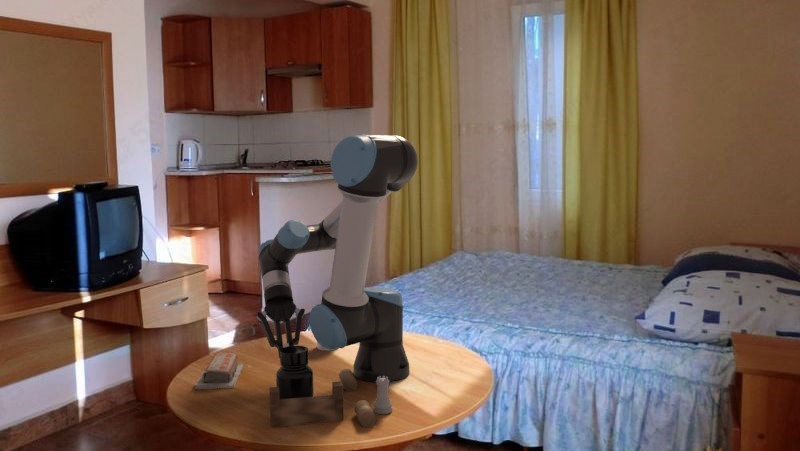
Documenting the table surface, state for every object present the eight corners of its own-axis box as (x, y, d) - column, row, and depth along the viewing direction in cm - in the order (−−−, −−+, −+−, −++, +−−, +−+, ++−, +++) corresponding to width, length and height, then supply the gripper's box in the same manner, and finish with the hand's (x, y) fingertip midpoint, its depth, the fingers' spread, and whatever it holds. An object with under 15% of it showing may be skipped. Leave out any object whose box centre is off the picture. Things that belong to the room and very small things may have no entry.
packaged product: (207, 351, 189) (243, 350, 190) (208, 368, 190) (244, 367, 191) (193, 372, 171) (233, 371, 172) (194, 391, 172) (234, 389, 173)
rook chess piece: (377, 416, 154) (377, 382, 153) (370, 409, 158) (369, 376, 157) (395, 413, 156) (395, 379, 155) (388, 406, 160) (387, 373, 159)
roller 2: (354, 415, 155) (354, 400, 154) (369, 414, 155) (369, 399, 155) (359, 428, 148) (359, 412, 147) (375, 426, 149) (375, 410, 148)
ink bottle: (301, 387, 173) (300, 341, 171) (322, 396, 166) (321, 349, 165) (268, 397, 166) (267, 349, 165) (288, 407, 160) (287, 358, 158)
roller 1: (340, 383, 176) (337, 370, 176) (353, 380, 177) (351, 367, 177) (344, 393, 170) (341, 379, 169) (358, 389, 170) (355, 376, 170)
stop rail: (341, 415, 155) (341, 381, 154) (343, 420, 152) (343, 385, 151) (270, 422, 151) (269, 387, 150) (270, 427, 148) (269, 392, 147)
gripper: (300, 296, 190) (312, 372, 176) (252, 300, 186) (261, 378, 172) (302, 281, 184) (315, 359, 170) (253, 285, 180) (263, 364, 167)
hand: (288, 368), depth 171 cm, fingers closed
